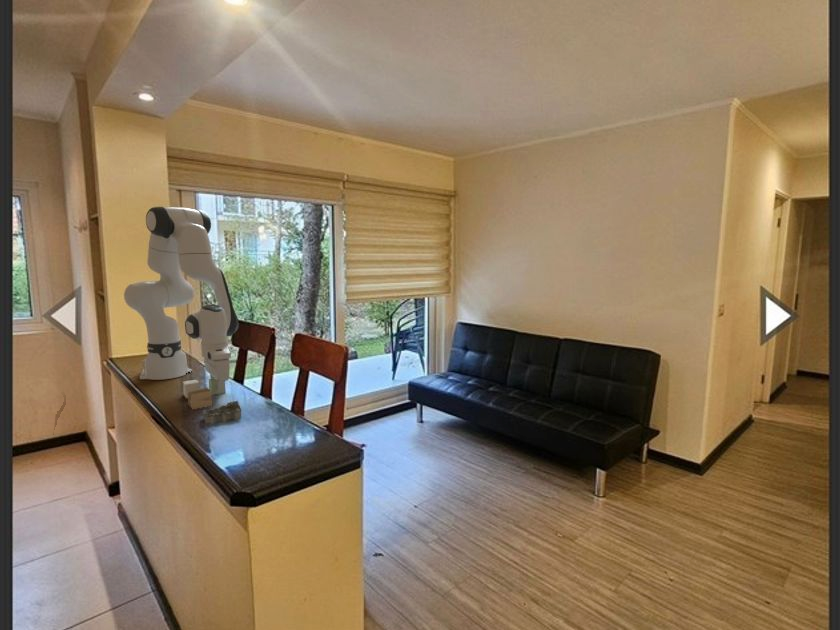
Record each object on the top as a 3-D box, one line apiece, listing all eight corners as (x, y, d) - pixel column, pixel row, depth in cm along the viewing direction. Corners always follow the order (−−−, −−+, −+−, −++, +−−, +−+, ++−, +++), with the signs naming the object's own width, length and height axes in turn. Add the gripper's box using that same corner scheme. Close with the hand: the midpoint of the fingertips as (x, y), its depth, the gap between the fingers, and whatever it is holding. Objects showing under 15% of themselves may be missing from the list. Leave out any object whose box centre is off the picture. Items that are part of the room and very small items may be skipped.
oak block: (188, 405, 149) (187, 390, 148) (207, 401, 152) (206, 387, 152) (192, 410, 144) (191, 395, 143) (212, 406, 148) (211, 391, 147)
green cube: (209, 392, 162) (208, 379, 162) (222, 390, 165) (221, 377, 164) (212, 395, 159) (211, 382, 158) (225, 393, 161) (224, 379, 161)
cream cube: (183, 395, 159) (182, 381, 158) (197, 392, 162) (196, 379, 161) (186, 398, 155) (185, 384, 155) (200, 396, 158) (199, 382, 157)
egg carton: (239, 412, 143) (239, 400, 143) (242, 420, 137) (242, 407, 136) (203, 417, 138) (202, 404, 138) (204, 425, 132) (203, 412, 131)
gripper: (199, 346, 166) (201, 382, 168) (212, 356, 150) (214, 396, 152) (217, 344, 170) (219, 379, 172) (232, 354, 154) (234, 393, 156)
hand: (217, 387), depth 162 cm, fingers open, 6 cm apart
